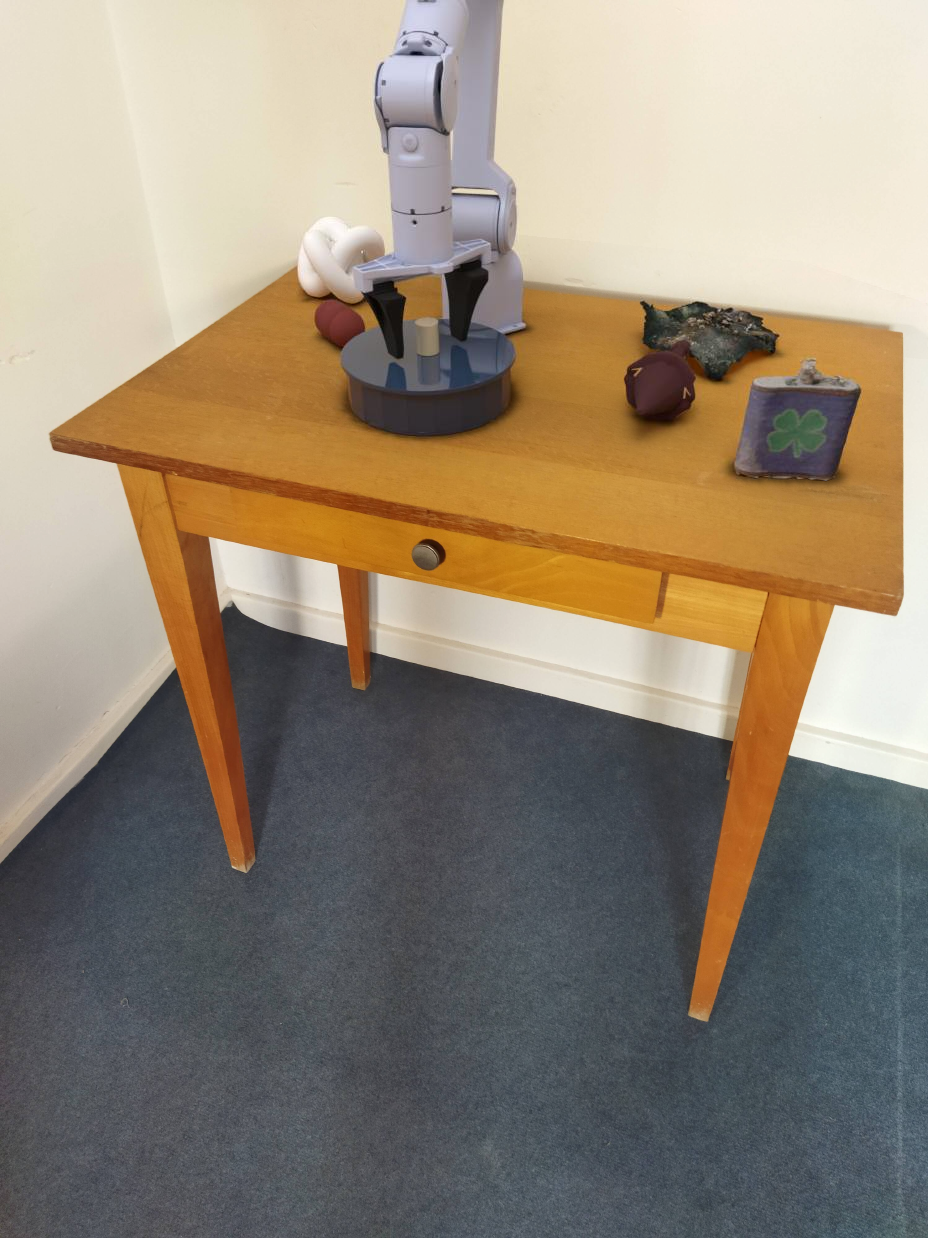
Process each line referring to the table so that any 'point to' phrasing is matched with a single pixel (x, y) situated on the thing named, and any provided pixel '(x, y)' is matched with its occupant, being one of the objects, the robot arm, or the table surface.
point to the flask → (796, 425)
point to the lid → (429, 359)
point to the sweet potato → (338, 322)
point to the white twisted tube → (336, 257)
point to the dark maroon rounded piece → (661, 383)
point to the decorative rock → (708, 334)
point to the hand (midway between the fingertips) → (427, 346)
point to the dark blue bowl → (429, 408)
